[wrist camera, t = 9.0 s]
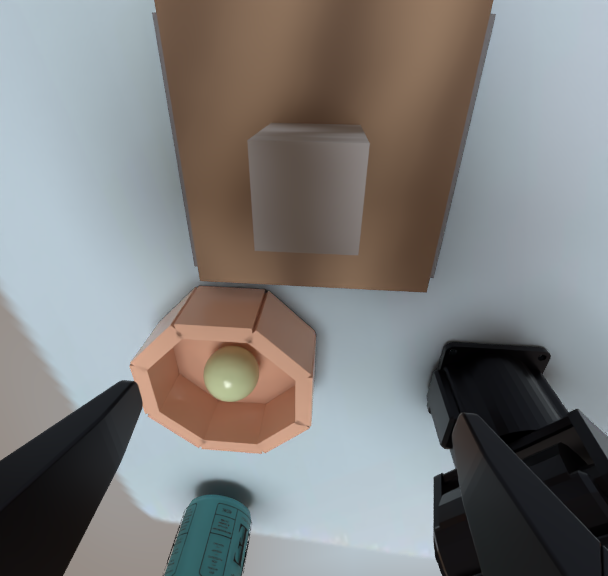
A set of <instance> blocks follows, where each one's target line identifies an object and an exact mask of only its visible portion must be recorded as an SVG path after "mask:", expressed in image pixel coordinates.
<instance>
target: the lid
mask: <svg viewBox="0 0 608 576" xmlns="http://www.w3.org/2000/svg"><path fill="white" fill-rule="evenodd" d="M154 1H155V7H156V14H157V20H158V26H159V32H160V38H161V44H162V50H163V56H164V63H165V69H166V75H167V81H168V87H169V93H170V99H171V105H172V112H173V118H174V124H175V130H176V136H177V142H178V148H179V154H180V161H181V167H182V173H183V179H184V185H185V191H186V197H187V203H188V210H189V216H190V222H191V228H192V234H193V240H194V246H195V252H196V259H197V265H198V271H199V277H200V281H211V282H231V283H250V284H270V285H290V286H309V287H329V288H349V289H368V290H388V291H408V292H427V288H428V284H429V280H430V275H431V271H432V267H433V262H434V258H435V253H436V249H437V245H438V240H439V236H440V231H441V227H442V223H443V218H444V214H445V210H446V205H447V201H448V196H449V192H450V188H451V183H452V179H453V175H454V170H455V166H456V161H457V157H458V153H459V148H460V144H461V140H462V135H463V131H464V126H465V122H466V118H467V113H468V109H469V105H470V100H471V96H472V91H473V87H474V83H475V78H476V74H477V70H478V65H479V61H480V56H481V52H482V48H483V43H484V39H485V34H486V30H487V26H488V21H489V17H490V13H491V8H492V4H493V0H154Z"/></svg>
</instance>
